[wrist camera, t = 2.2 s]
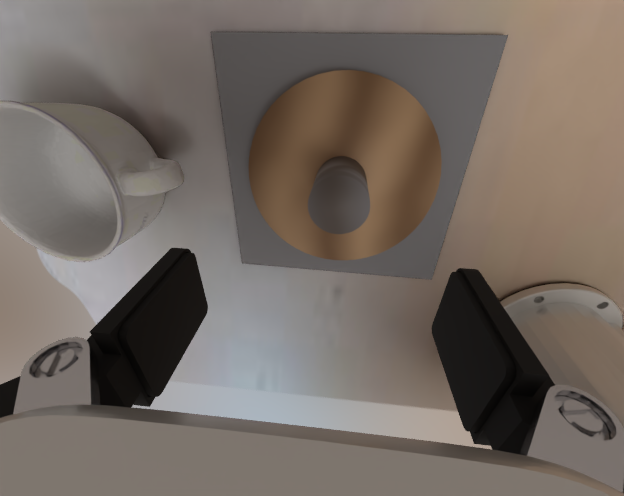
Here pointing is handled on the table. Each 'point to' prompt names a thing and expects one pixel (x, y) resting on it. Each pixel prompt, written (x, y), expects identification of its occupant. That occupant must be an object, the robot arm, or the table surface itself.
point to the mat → (374, 59)
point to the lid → (345, 165)
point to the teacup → (77, 178)
